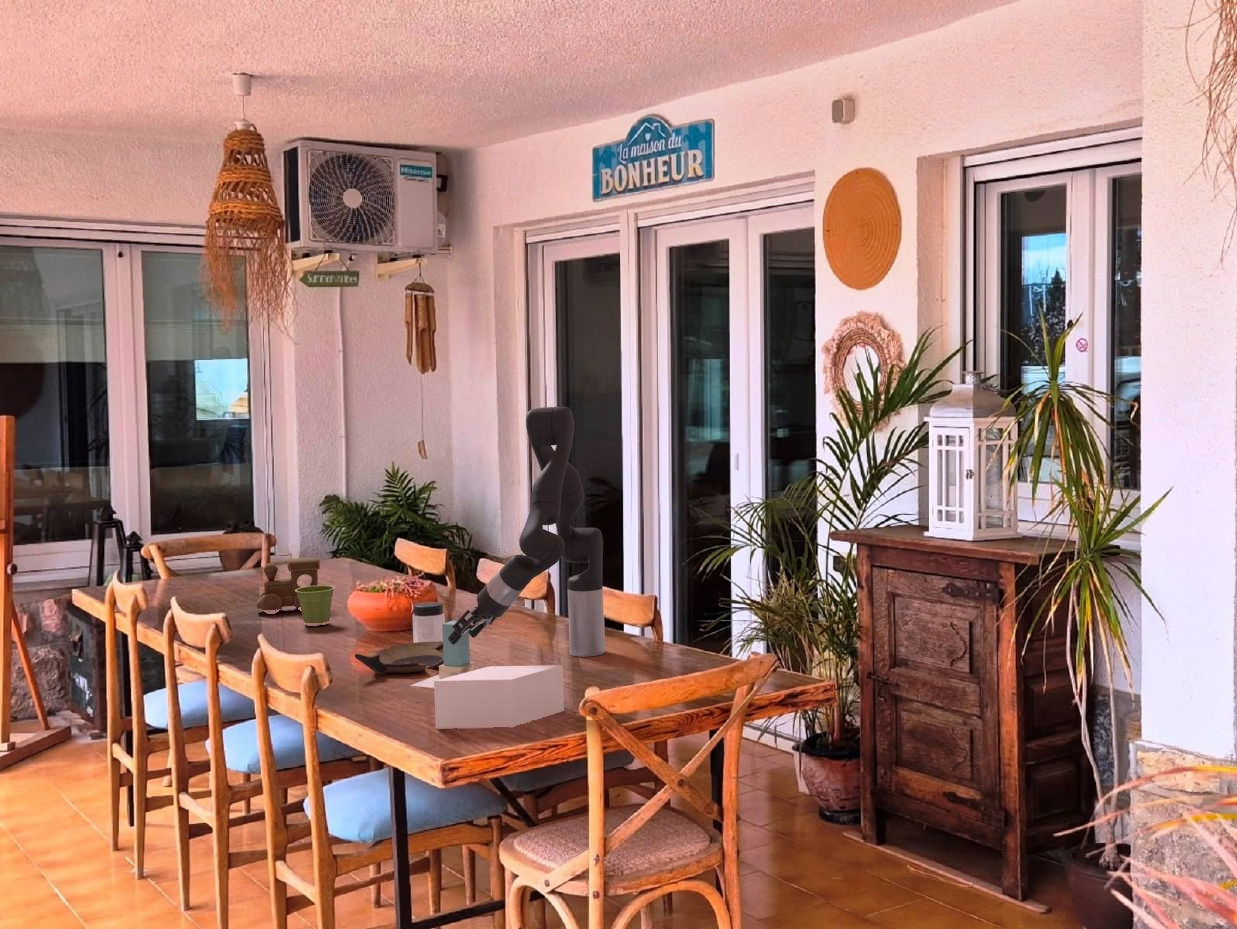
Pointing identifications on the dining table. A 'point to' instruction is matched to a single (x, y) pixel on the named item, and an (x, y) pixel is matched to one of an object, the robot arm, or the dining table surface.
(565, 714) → the dining table surface
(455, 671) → the lower block
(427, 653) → the oil lamp
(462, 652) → the tall block
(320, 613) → the plant pot
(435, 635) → the jar
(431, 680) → the build board
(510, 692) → the wide white block
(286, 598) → the wooden toy train
